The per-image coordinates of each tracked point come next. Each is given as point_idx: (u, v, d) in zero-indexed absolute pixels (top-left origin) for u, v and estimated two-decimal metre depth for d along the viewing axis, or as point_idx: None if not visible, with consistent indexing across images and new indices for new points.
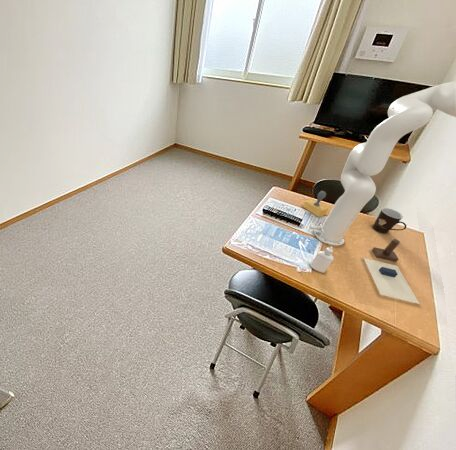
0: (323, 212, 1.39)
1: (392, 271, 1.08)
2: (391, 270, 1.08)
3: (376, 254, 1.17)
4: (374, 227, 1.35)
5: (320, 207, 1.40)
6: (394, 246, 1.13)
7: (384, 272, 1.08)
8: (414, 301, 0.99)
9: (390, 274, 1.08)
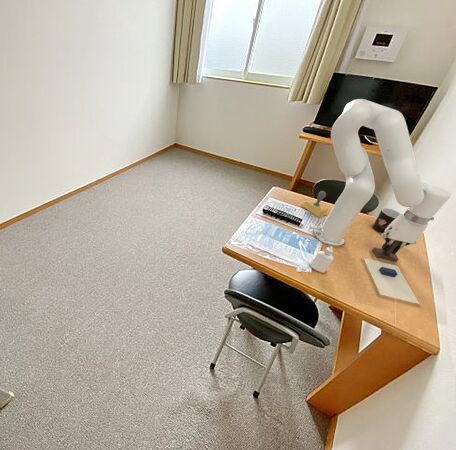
0: (323, 212, 1.39)
1: (392, 271, 1.08)
2: (391, 270, 1.08)
3: (376, 254, 1.17)
4: (374, 227, 1.35)
5: (320, 207, 1.40)
6: (394, 246, 1.13)
7: (384, 272, 1.08)
8: (414, 301, 0.99)
9: (390, 274, 1.08)
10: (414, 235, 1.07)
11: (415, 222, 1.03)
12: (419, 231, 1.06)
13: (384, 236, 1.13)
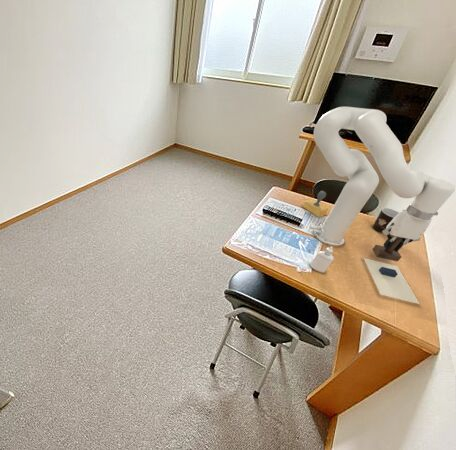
0: (323, 212, 1.39)
1: (392, 271, 1.08)
2: (391, 270, 1.08)
3: (378, 252, 1.12)
4: (374, 227, 1.35)
5: (320, 207, 1.40)
6: (397, 243, 1.08)
7: (384, 272, 1.08)
8: (414, 301, 0.99)
9: (390, 274, 1.08)
10: (417, 231, 1.02)
11: (418, 217, 0.98)
12: (422, 227, 1.01)
13: (386, 233, 1.08)
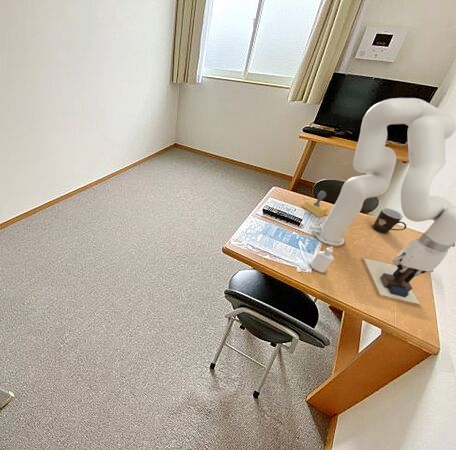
0: (323, 212, 1.39)
1: (403, 290, 1.00)
2: (402, 289, 1.01)
3: (386, 282, 1.03)
4: (374, 227, 1.35)
5: (320, 207, 1.40)
6: (408, 274, 0.99)
7: (394, 292, 1.00)
8: (414, 301, 0.99)
9: (401, 294, 1.00)
10: (432, 263, 0.93)
11: (433, 249, 0.89)
12: (437, 259, 0.91)
13: (396, 263, 0.98)
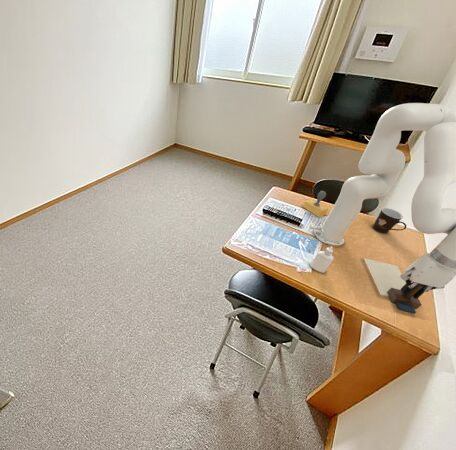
0: (323, 212, 1.39)
1: (409, 308, 0.95)
2: (408, 307, 0.96)
3: (394, 297, 0.97)
4: (374, 227, 1.35)
5: (320, 207, 1.40)
6: (417, 289, 0.93)
7: (401, 310, 0.95)
8: None
9: None
10: (443, 279, 0.87)
11: (446, 265, 0.83)
12: (449, 275, 0.86)
13: (405, 278, 0.92)
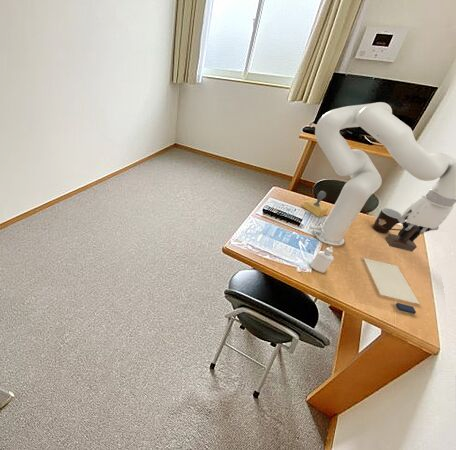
0: (323, 212, 1.39)
1: (409, 308, 0.95)
2: (408, 307, 0.96)
3: (391, 241, 1.05)
4: (374, 227, 1.35)
5: (320, 207, 1.40)
6: (413, 232, 1.01)
7: (401, 310, 0.95)
8: (414, 301, 0.99)
9: None
10: (437, 219, 0.95)
11: (439, 204, 0.91)
12: (442, 215, 0.94)
13: (402, 220, 1.00)
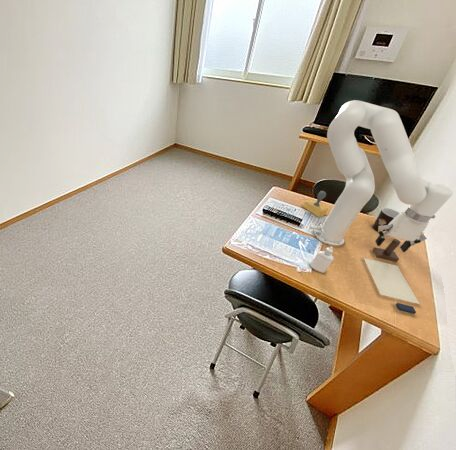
0: (323, 212, 1.39)
1: (409, 308, 0.95)
2: (408, 307, 0.96)
3: (377, 254, 1.17)
4: (374, 227, 1.35)
5: (320, 207, 1.40)
6: (395, 246, 1.13)
7: (401, 310, 0.95)
8: (414, 301, 0.99)
9: None
10: (415, 233, 1.07)
11: (416, 220, 1.03)
12: (419, 229, 1.05)
13: (381, 229, 1.11)
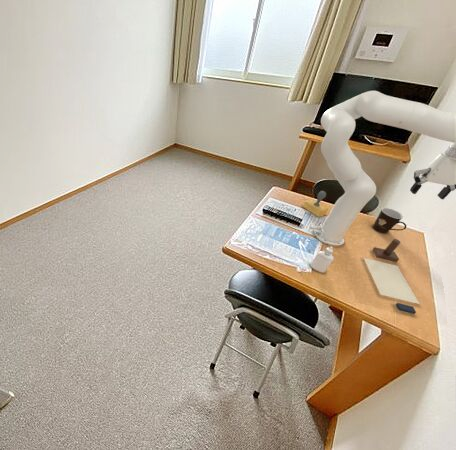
0: (323, 212, 1.39)
1: (409, 308, 0.95)
2: (408, 307, 0.96)
3: (377, 254, 1.17)
4: (374, 227, 1.35)
5: (320, 207, 1.40)
6: (395, 246, 1.13)
7: (401, 310, 0.95)
8: (414, 301, 0.99)
9: None
10: None
11: None
12: None
13: (418, 173, 1.03)
